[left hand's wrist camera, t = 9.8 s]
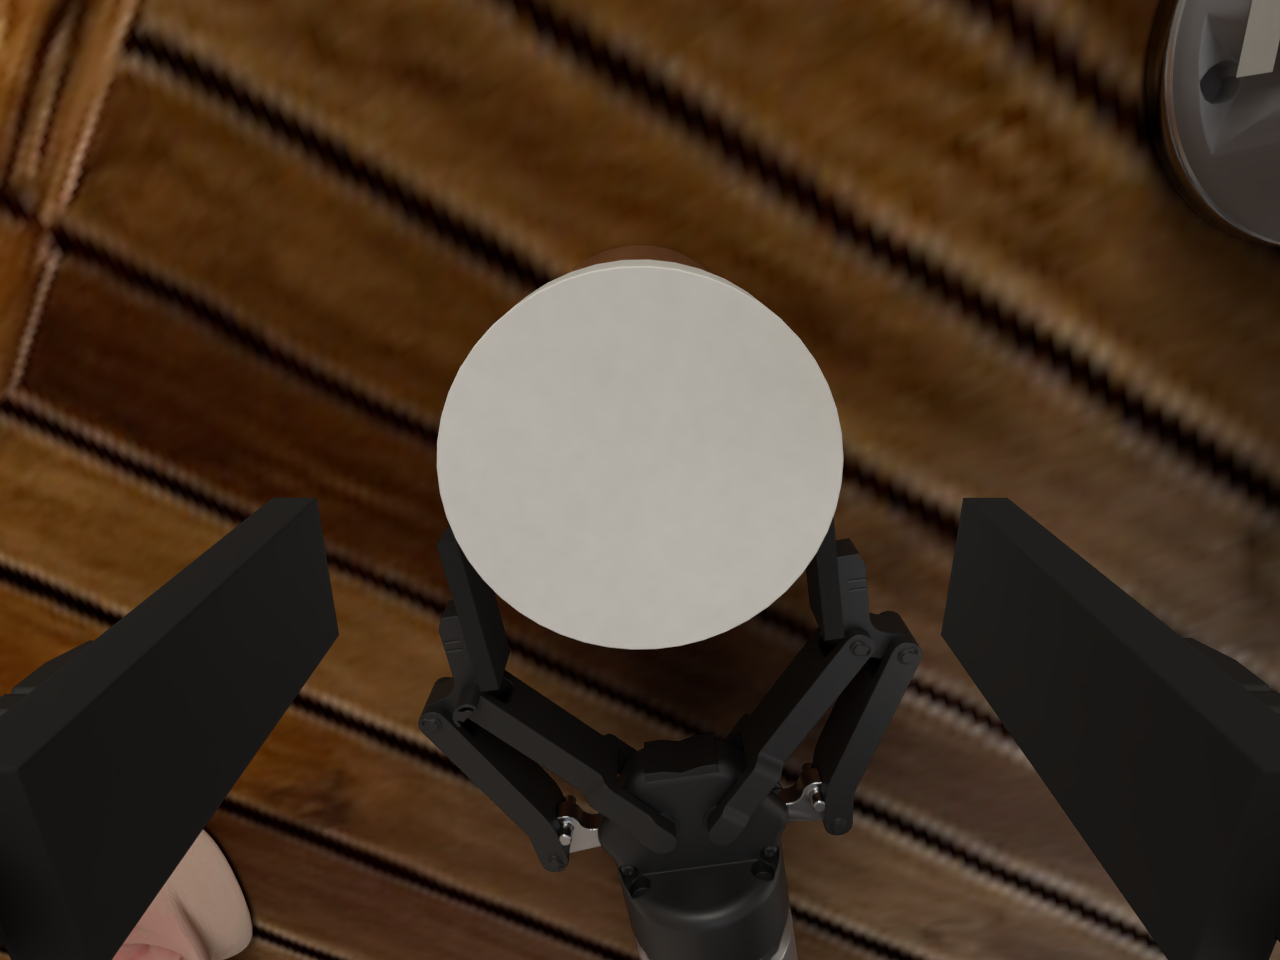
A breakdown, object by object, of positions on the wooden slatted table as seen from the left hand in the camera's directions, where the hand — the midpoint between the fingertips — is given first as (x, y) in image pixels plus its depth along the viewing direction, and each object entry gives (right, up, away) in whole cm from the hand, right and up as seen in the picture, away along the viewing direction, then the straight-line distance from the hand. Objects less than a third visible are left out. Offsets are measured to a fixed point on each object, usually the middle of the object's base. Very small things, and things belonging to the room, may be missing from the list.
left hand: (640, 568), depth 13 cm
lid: (0, +2, +5) cm, 5 cm away
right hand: (0, +1, +15) cm, 15 cm away
